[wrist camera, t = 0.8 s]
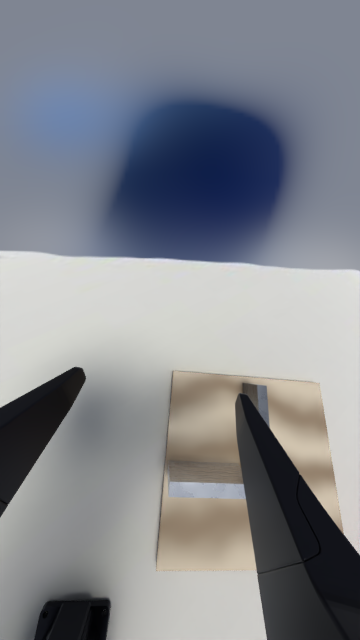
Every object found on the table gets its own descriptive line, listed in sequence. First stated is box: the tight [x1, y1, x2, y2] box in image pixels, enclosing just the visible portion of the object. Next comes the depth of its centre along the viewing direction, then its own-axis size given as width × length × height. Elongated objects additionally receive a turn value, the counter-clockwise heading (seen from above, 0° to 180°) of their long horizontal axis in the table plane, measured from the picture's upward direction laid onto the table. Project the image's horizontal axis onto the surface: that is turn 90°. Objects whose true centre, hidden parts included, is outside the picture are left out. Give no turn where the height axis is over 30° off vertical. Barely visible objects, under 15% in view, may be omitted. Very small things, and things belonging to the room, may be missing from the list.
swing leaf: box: [243, 383, 270, 428], centre depth 20 cm, size 11×2×4 cm, turn 175°
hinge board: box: [156, 371, 344, 571], centre depth 21 cm, size 20×22×1 cm
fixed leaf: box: [167, 460, 246, 499], centre depth 18 cm, size 11×2×4 cm, turn 85°
